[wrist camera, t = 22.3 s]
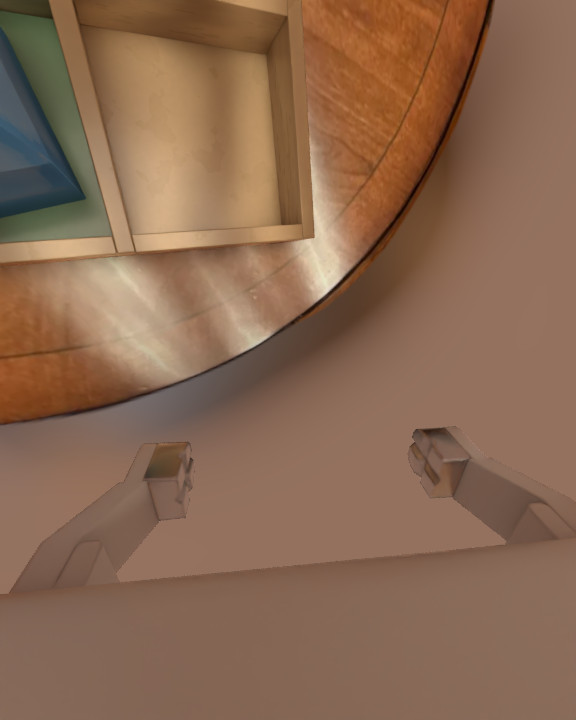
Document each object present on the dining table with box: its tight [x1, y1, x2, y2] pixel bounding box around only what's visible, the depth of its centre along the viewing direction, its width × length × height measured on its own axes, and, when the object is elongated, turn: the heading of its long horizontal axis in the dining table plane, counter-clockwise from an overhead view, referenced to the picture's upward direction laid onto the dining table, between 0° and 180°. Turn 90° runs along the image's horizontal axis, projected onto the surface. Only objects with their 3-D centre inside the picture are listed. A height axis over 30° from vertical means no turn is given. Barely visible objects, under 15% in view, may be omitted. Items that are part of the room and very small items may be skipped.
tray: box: [0, 0, 314, 267], centre depth 14 cm, size 20×11×4 cm, turn 96°
